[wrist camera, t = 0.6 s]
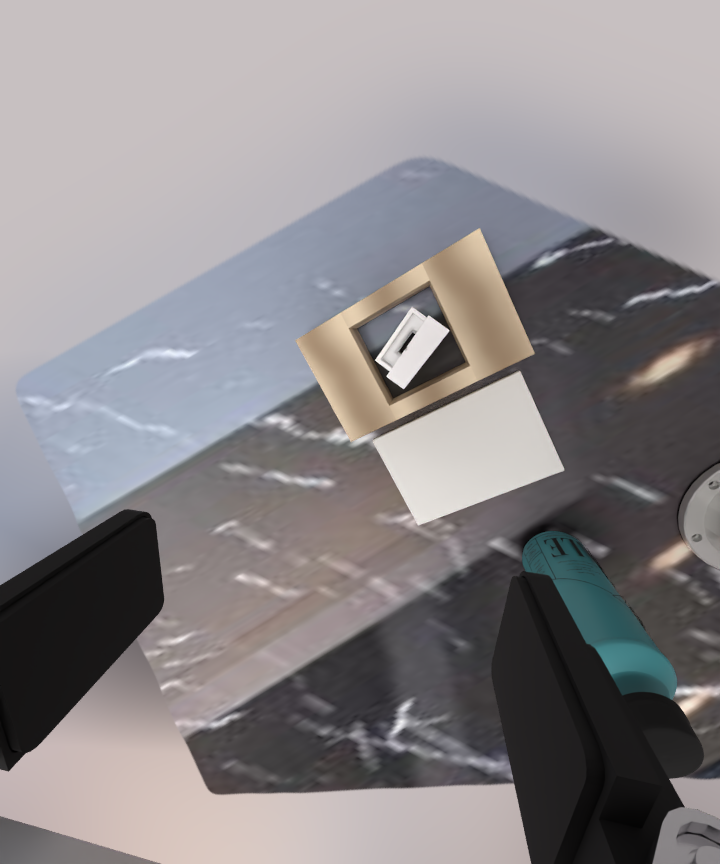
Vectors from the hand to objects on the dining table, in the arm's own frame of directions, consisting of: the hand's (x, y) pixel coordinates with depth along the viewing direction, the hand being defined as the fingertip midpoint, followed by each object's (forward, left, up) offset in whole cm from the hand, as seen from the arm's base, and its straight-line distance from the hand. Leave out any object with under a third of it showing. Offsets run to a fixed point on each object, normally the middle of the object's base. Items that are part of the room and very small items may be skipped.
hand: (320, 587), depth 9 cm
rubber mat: (-3, +8, -29) cm, 30 cm away
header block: (-3, -4, -29) cm, 30 cm away
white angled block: (-3, -4, -29) cm, 30 cm away
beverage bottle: (-7, +22, -29) cm, 37 cm away
